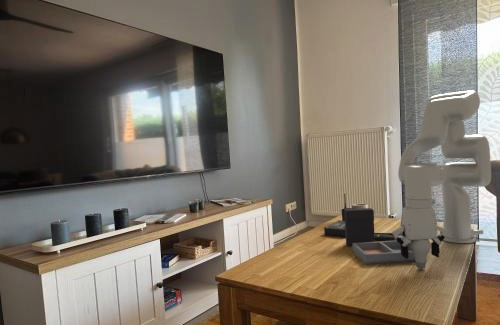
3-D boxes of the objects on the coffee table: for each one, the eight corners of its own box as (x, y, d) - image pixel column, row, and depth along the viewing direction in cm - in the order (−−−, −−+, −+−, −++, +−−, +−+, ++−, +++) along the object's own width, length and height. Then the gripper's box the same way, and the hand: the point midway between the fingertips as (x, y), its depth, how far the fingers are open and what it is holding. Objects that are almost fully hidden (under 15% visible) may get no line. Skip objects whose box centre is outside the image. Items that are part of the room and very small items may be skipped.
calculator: (372, 243, 139) (371, 207, 138) (375, 246, 134) (373, 209, 134) (345, 244, 140) (343, 208, 139) (347, 247, 136) (345, 210, 135)
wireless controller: (350, 239, 148) (348, 200, 147) (321, 235, 156) (319, 199, 156) (365, 228, 163) (364, 194, 163) (338, 226, 172) (337, 193, 171)
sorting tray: (407, 248, 129) (406, 239, 129) (426, 261, 115) (426, 251, 115) (352, 252, 129) (352, 243, 129) (365, 264, 115) (365, 254, 115)
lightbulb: (429, 266, 110) (428, 233, 110) (433, 273, 104) (432, 238, 104) (409, 265, 112) (408, 233, 112) (411, 272, 106) (410, 238, 106)
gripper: (438, 200, 111) (440, 251, 112) (386, 203, 111) (388, 254, 111) (452, 204, 103) (454, 259, 104) (396, 207, 103) (398, 261, 104)
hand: (420, 256), depth 108 cm, fingers open, 9 cm apart
